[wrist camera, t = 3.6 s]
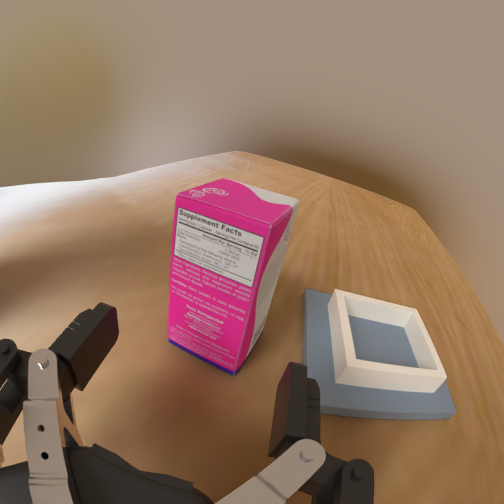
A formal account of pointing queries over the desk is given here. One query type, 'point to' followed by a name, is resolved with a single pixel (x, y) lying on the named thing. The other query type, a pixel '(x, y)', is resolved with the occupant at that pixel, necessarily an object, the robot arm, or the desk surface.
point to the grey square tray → (372, 359)
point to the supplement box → (225, 268)
